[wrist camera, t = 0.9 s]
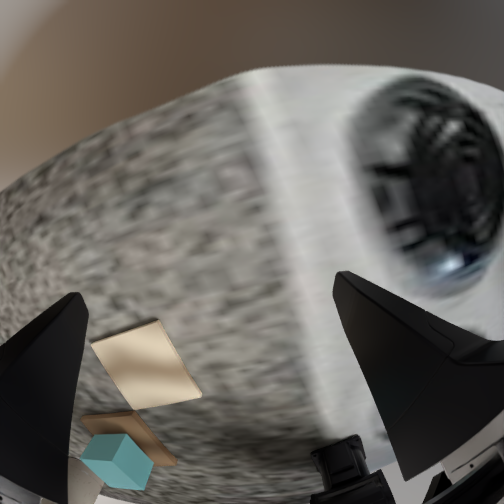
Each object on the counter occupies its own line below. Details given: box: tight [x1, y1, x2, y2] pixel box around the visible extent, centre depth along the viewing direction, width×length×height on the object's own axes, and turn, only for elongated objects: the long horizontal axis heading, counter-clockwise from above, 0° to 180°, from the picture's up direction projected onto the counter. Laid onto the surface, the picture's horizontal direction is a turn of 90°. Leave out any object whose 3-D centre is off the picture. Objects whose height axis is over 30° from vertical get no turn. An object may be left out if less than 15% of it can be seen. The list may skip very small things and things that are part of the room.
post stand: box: [80, 410, 178, 466], centre depth 24 cm, size 10×10×6 cm
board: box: [91, 320, 202, 410], centre depth 24 cm, size 9×9×1 cm
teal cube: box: [79, 434, 154, 490], centre depth 22 cm, size 6×6×5 cm
